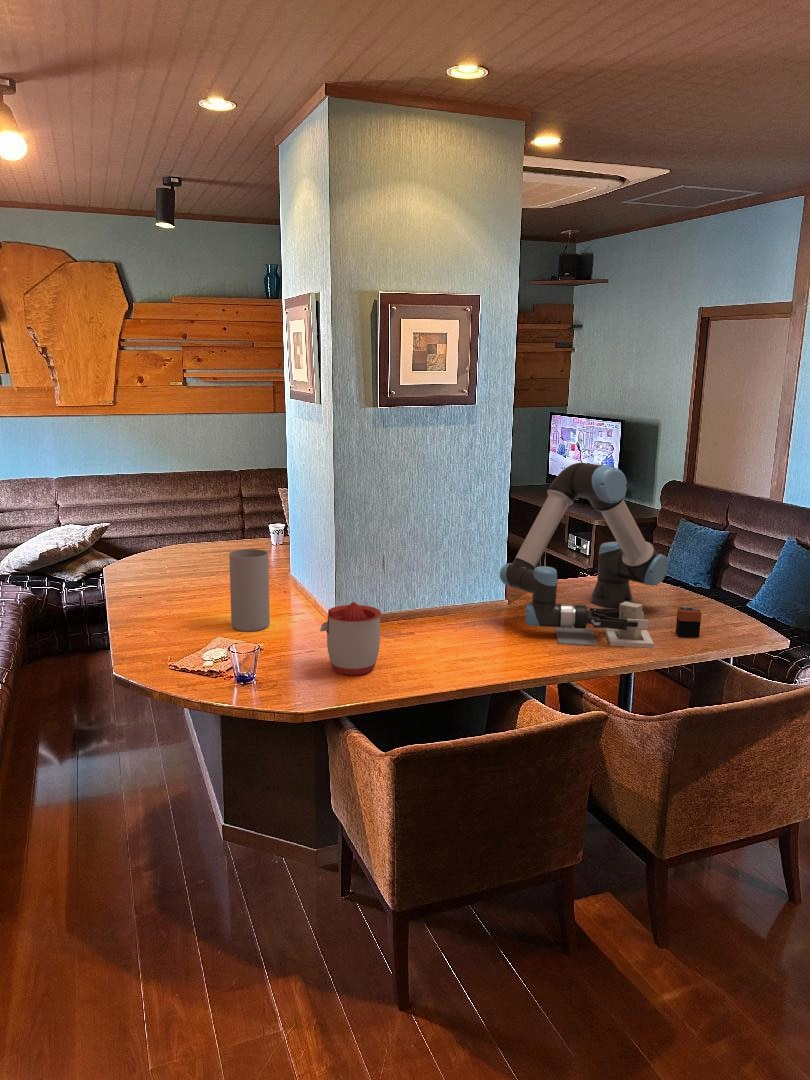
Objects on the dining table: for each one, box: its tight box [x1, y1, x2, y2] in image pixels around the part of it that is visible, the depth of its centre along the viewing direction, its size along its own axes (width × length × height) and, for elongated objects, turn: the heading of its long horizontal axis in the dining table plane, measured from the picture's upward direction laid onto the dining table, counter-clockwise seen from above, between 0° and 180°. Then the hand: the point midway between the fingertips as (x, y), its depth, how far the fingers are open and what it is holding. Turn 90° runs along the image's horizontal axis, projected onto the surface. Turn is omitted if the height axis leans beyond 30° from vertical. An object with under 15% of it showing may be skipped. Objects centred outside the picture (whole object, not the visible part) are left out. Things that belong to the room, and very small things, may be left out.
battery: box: [675, 605, 702, 639], centre depth 267 cm, size 4×7×10 cm, turn 85°
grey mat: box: [554, 627, 598, 647], centre depth 264 cm, size 16×12×1 cm
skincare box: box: [617, 601, 643, 640], centre depth 261 cm, size 6×4×12 cm
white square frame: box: [604, 628, 655, 649], centre depth 262 cm, size 13×13×2 cm
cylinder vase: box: [228, 548, 271, 632], centre depth 267 cm, size 12×12×25 cm
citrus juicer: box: [319, 601, 382, 676], centre depth 231 cm, size 16×17×20 cm
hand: (645, 620), depth 260 cm, fingers open, 8 cm apart
